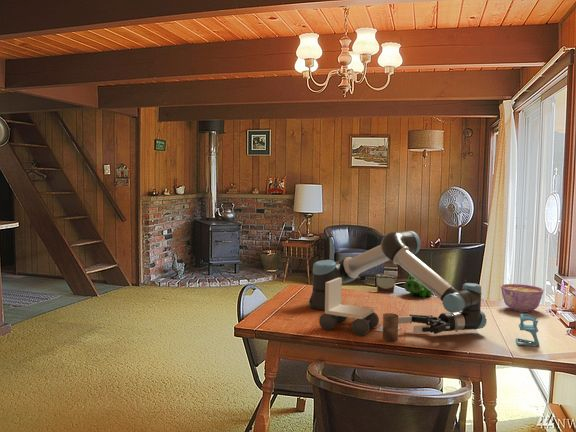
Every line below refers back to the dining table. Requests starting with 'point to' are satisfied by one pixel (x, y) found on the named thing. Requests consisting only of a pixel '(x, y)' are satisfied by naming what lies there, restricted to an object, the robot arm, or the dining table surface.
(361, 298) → the dining table surface
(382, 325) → the pad
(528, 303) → the bowl of food
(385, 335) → the cylindrical block
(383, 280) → the food container
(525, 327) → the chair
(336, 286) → the trolley
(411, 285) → the piggy bank
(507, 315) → the dining table surface
